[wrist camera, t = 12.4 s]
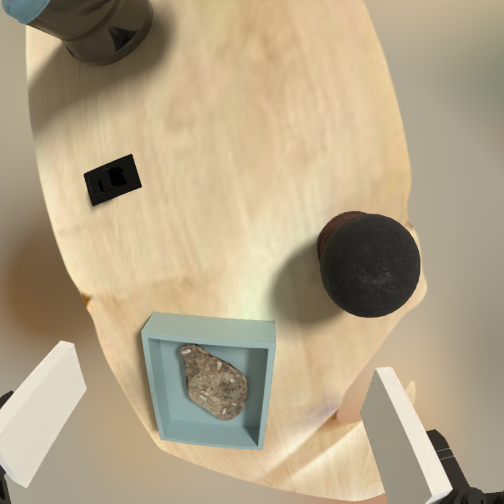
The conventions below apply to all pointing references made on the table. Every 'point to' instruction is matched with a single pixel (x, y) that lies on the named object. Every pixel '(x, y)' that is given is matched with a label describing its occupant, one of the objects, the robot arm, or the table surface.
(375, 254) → the black globe on stand
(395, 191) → the table surface
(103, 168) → the build plate
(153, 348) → the storage tub
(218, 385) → the rock
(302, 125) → the table surface
